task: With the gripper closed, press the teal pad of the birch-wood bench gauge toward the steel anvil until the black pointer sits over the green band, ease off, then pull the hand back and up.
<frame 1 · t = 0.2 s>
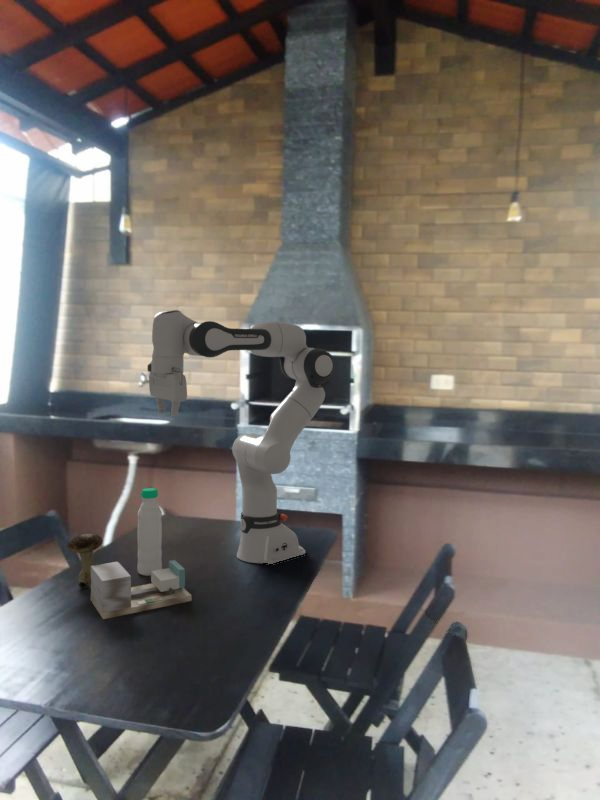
hand: (167, 414, 180), 47 cm above the table, tool pointing down, fingers open, 8 cm apart
water bottle: (149, 572, 185), on the table
mushroom: (86, 588, 173), on the table
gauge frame: (143, 600, 165), on the table
block with teal panel: (169, 576, 167), point 6 cm above the table, slide at 0.0 cm
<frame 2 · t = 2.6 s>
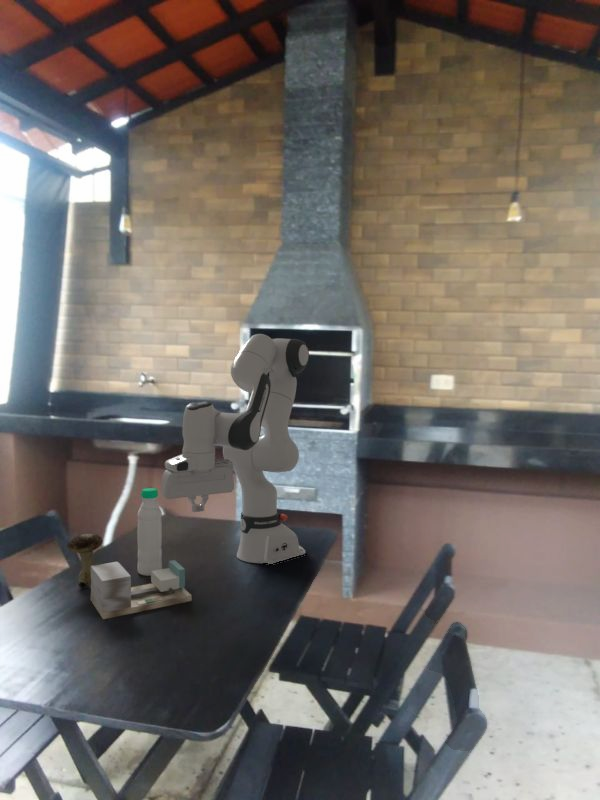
hand: (198, 511, 171), 22 cm above the table, tool pointing down, fingers closed
nothing on the table moved.
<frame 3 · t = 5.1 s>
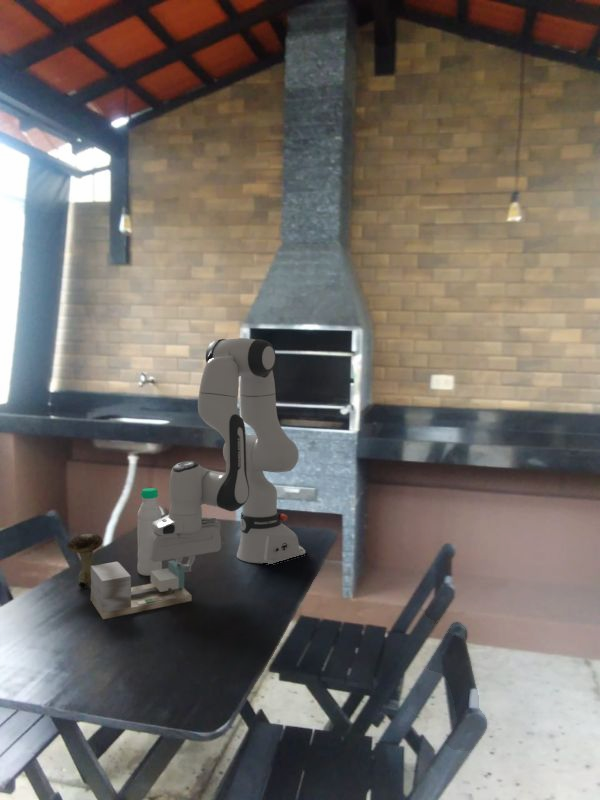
hand: (185, 571, 170), 6 cm above the table, tool pointing down, fingers closed
block with teal panel: (168, 577, 167), point 5 cm above the table, slide at 0.2 cm, touching gripper
everything else where it was.
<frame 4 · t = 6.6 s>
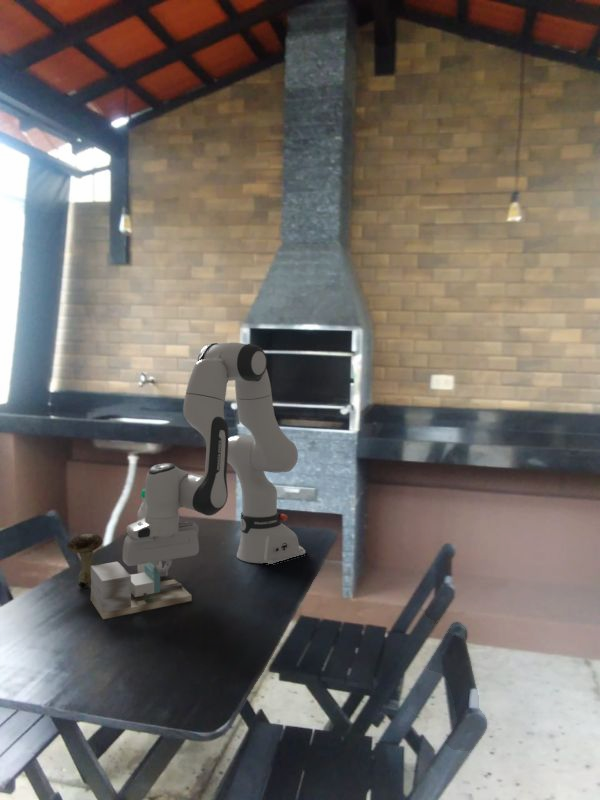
hand: (161, 575, 167), 6 cm above the table, tool pointing down, fingers closed
block with teal panel: (144, 581, 163), point 5 cm above the table, slide at 6.8 cm, touching gripper
everything else where it was.
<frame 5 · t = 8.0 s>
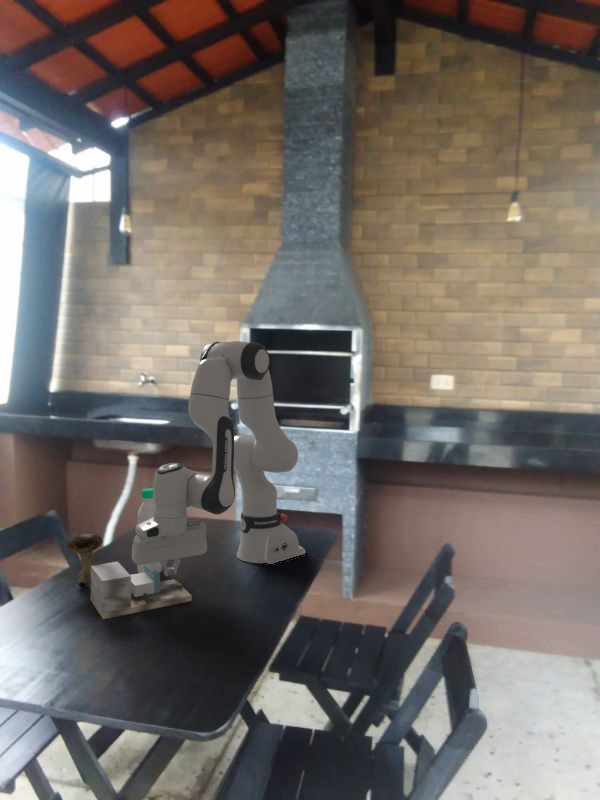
hand: (170, 574, 168), 6 cm above the table, tool pointing down, fingers closed
block with teal panel: (144, 581, 163), point 6 cm above the table, slide at 6.8 cm
everything else where it was.
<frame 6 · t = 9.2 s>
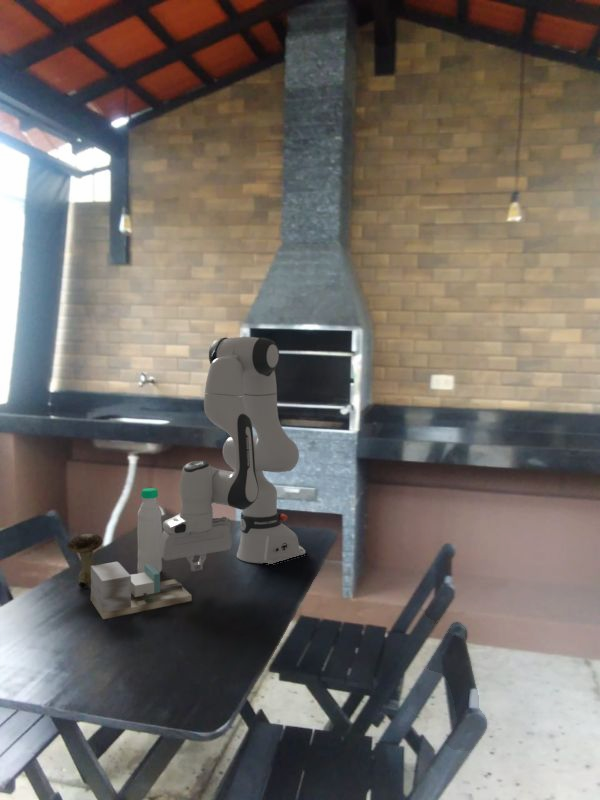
hand: (196, 569, 172), 6 cm above the table, tool pointing down, fingers closed
nothing on the table moved.
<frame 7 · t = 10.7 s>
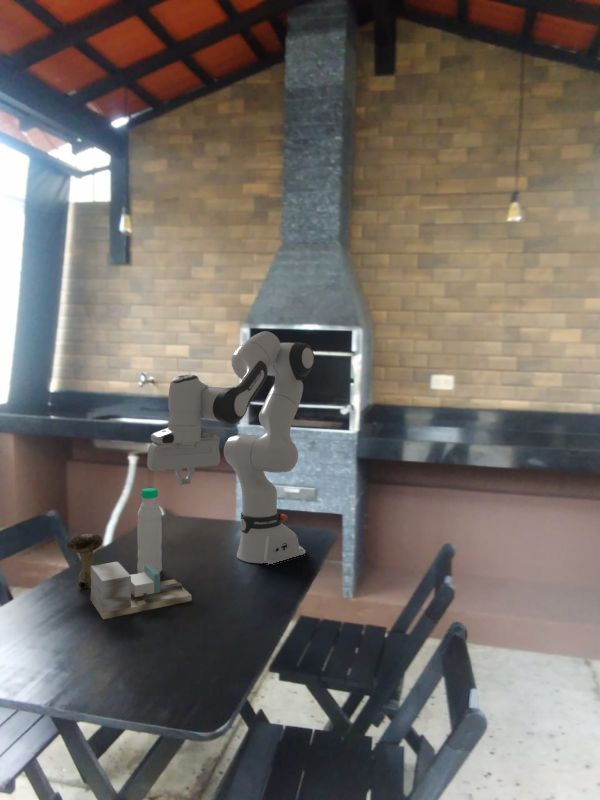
hand: (184, 484, 172), 29 cm above the table, tool pointing down, fingers closed
nothing on the table moved.
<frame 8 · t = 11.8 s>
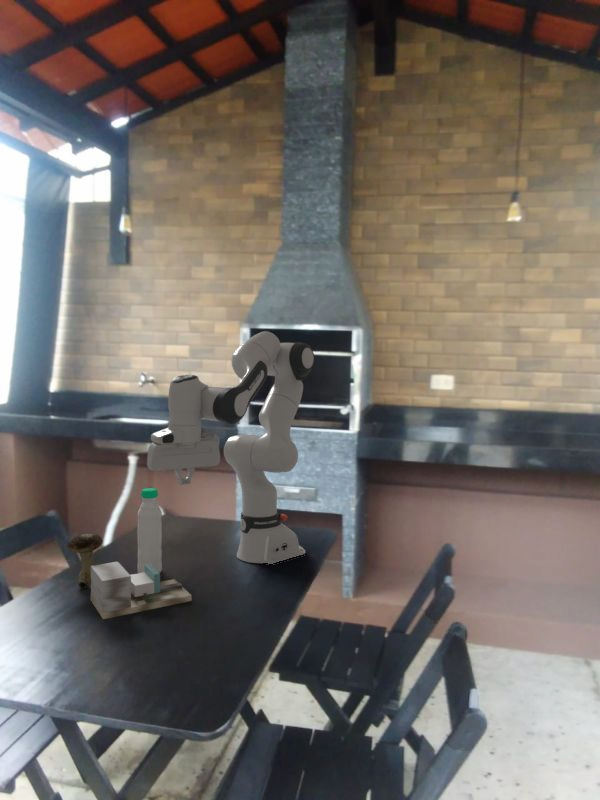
hand: (184, 484, 172), 29 cm above the table, tool pointing down, fingers closed
nothing on the table moved.
at the end: block with teal panel slide at 6.8 cm; water bottle moved 0.2 cm from its start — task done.
